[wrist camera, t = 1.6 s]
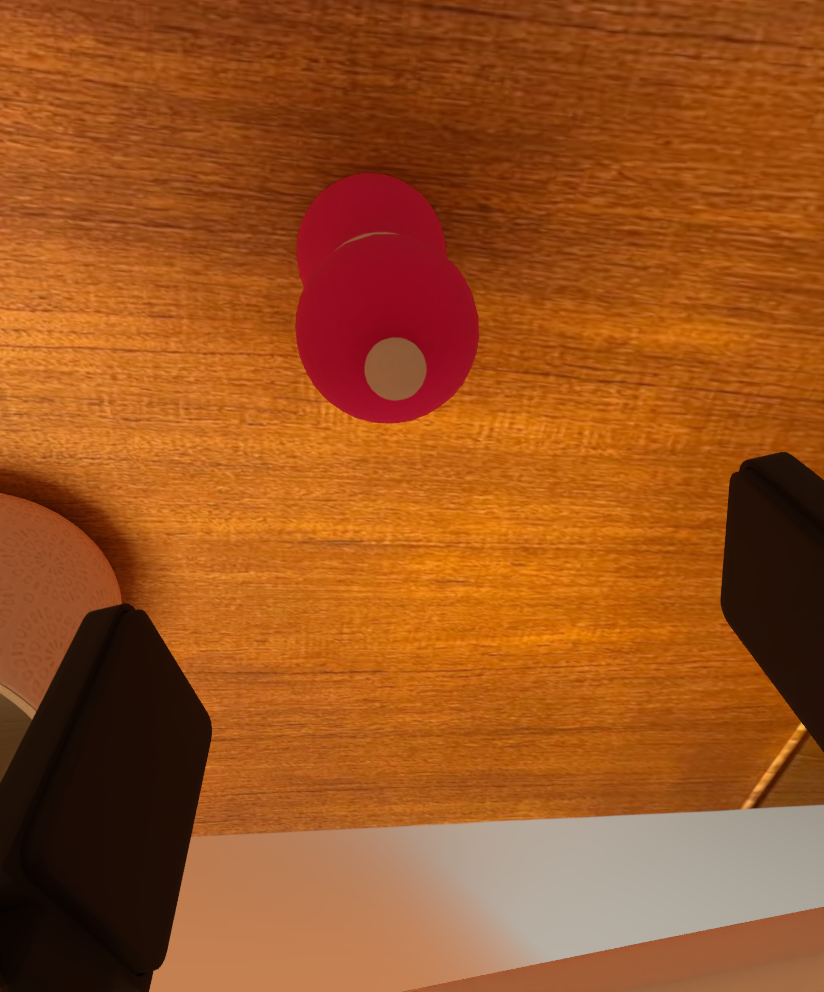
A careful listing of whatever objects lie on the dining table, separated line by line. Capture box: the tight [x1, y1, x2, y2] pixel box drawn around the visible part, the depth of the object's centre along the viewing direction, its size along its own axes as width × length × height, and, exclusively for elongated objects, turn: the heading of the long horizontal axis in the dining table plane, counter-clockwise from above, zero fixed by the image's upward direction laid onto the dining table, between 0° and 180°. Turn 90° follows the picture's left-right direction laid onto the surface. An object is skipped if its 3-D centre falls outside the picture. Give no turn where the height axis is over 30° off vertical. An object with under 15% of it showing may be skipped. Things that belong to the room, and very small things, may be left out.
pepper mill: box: [296, 173, 479, 423], centre depth 25 cm, size 7×7×20 cm
